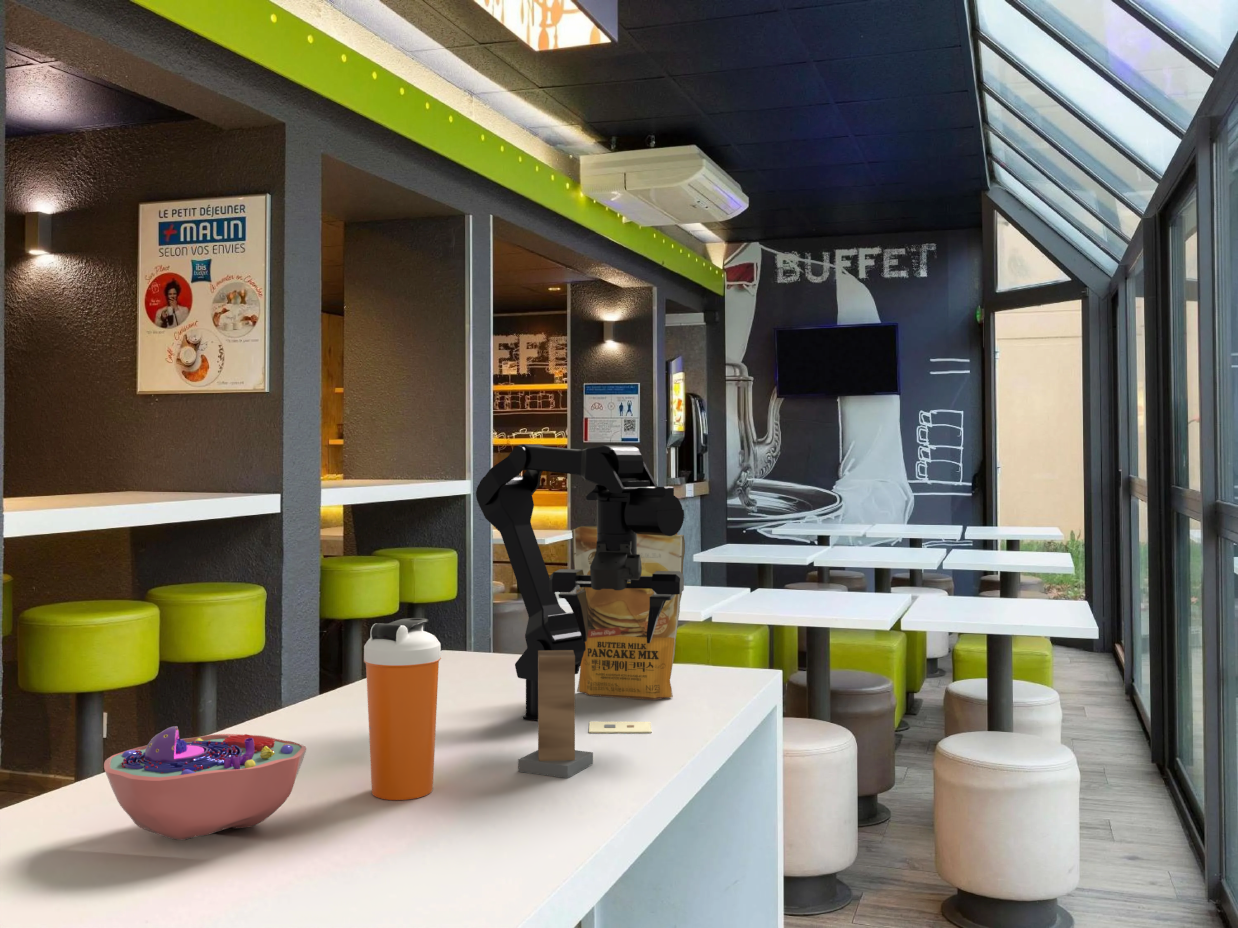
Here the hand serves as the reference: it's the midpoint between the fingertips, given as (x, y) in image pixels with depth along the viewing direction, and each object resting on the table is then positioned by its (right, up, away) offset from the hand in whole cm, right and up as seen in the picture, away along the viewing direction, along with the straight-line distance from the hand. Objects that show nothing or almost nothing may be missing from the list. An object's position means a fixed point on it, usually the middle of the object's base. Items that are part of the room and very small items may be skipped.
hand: (616, 642), depth 158 cm
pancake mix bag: (+1, -13, +26) cm, 29 cm away
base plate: (-8, -13, -18) cm, 23 cm away
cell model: (-43, -13, -42) cm, 62 cm away
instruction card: (+1, -13, +3) cm, 13 cm away
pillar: (-8, -12, -18) cm, 23 cm away
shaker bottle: (-25, -13, -28) cm, 40 cm away
